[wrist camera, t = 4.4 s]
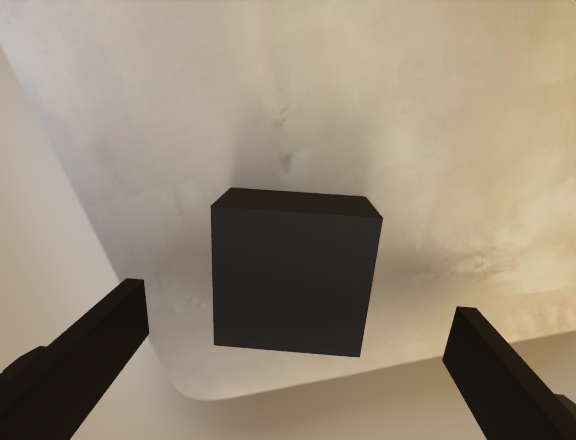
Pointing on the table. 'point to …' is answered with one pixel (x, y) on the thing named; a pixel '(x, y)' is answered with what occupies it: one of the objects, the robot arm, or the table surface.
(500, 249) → the table surface
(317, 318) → the foam pad
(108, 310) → the robot arm
